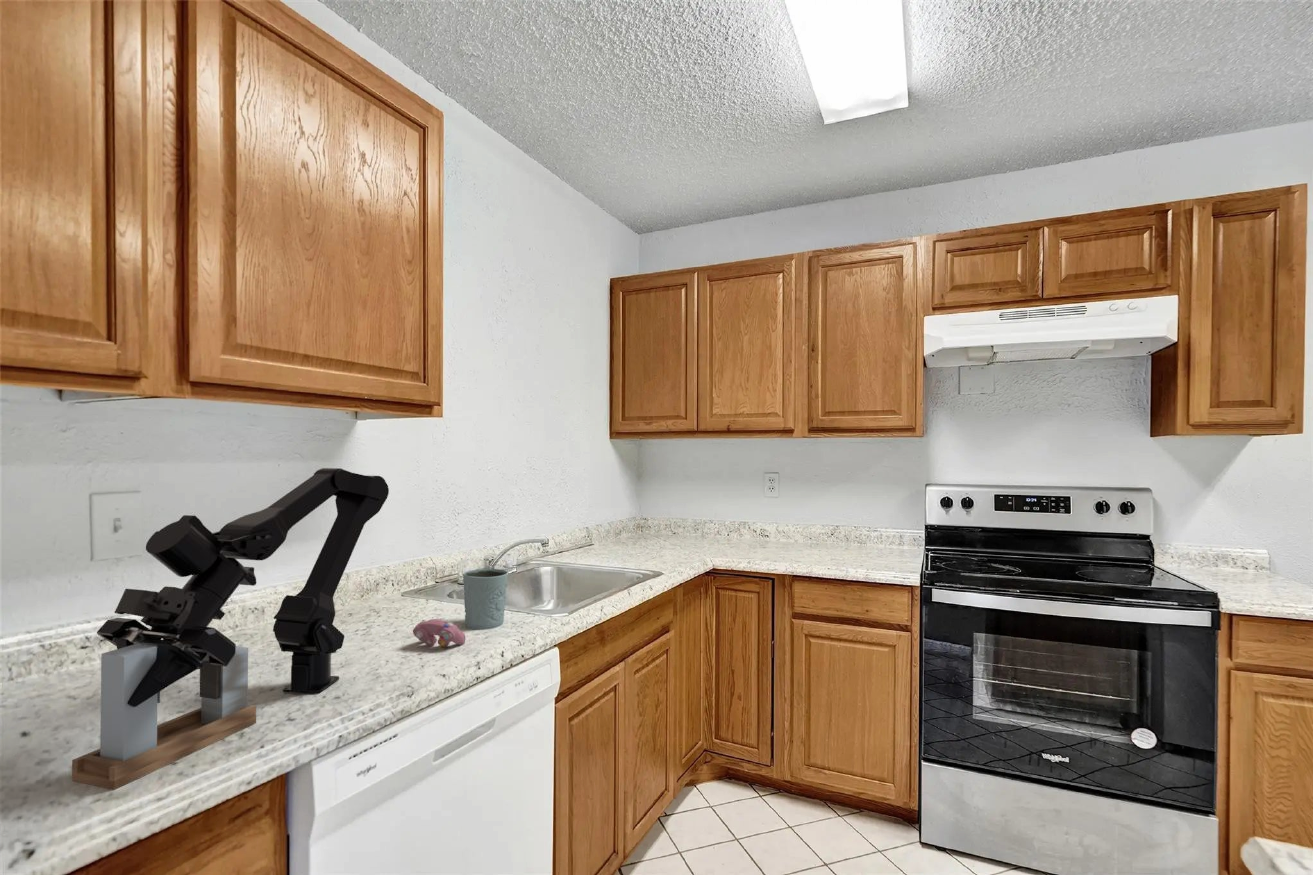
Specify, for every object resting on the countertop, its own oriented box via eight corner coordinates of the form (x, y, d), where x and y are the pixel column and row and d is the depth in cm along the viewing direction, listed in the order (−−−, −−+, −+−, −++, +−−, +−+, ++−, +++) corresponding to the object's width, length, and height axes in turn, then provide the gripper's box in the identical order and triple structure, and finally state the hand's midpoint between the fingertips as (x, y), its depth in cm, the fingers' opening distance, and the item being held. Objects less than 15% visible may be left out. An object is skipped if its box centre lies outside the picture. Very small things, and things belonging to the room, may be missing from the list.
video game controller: (415, 652, 130) (406, 626, 127) (427, 636, 134) (418, 611, 131) (458, 656, 128) (450, 629, 125) (468, 640, 132) (461, 614, 129)
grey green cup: (460, 620, 149) (461, 570, 149) (504, 616, 153) (504, 567, 153) (465, 632, 139) (465, 578, 139) (511, 627, 143) (511, 574, 143)
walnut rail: (218, 716, 95) (219, 644, 96) (256, 722, 93) (257, 648, 94) (71, 780, 77) (73, 690, 77) (114, 789, 75) (116, 697, 75)
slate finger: (139, 741, 83) (140, 642, 83) (161, 745, 82) (162, 645, 82) (100, 757, 79) (101, 653, 79) (123, 762, 78) (124, 656, 78)
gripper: (113, 559, 87) (11, 666, 76) (216, 566, 82) (121, 682, 71) (171, 602, 94) (85, 705, 83) (268, 611, 89) (190, 722, 78)
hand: (118, 703), depth 79 cm, fingers open, 4 cm apart
